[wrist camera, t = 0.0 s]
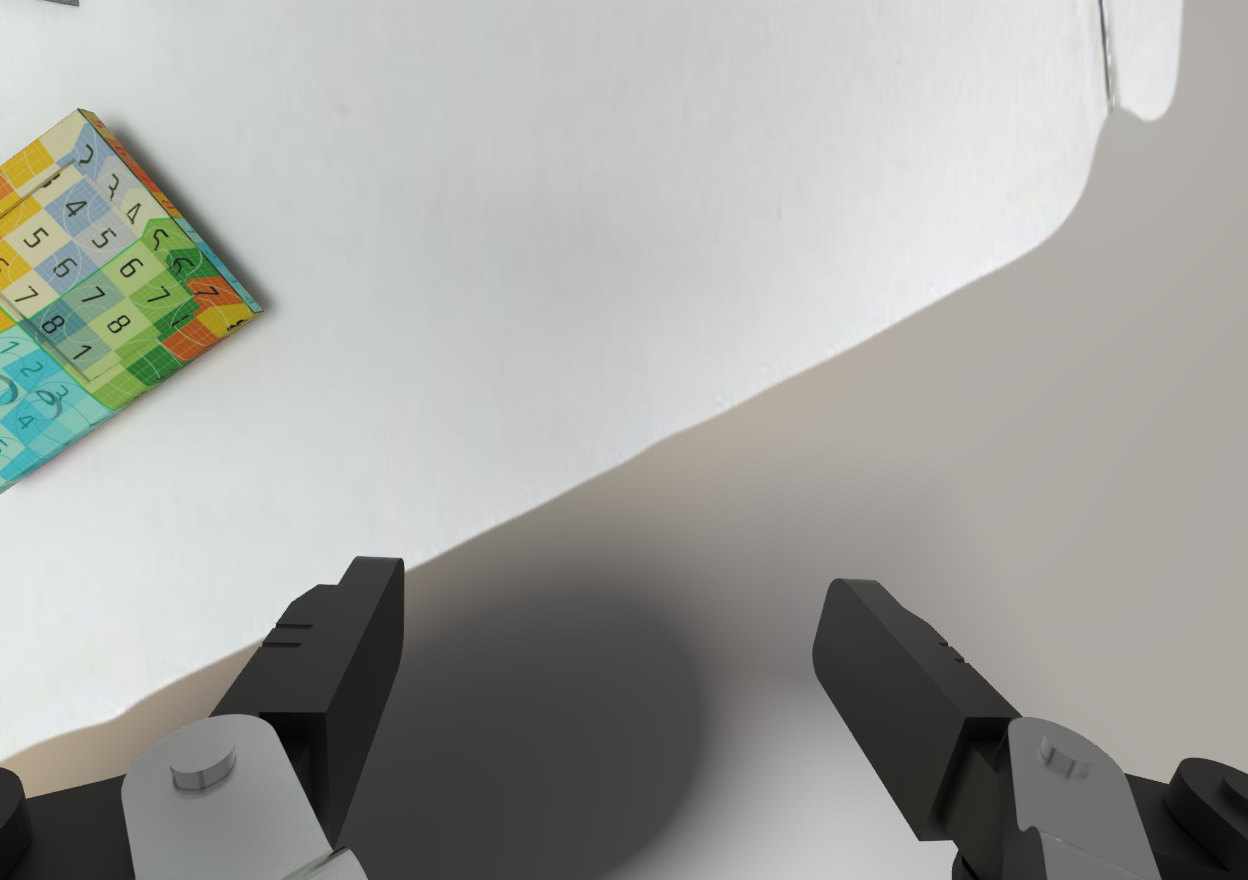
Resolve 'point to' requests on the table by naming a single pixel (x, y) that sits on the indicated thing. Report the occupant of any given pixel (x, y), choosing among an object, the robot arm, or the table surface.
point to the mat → (66, 2)
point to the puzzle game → (95, 291)
